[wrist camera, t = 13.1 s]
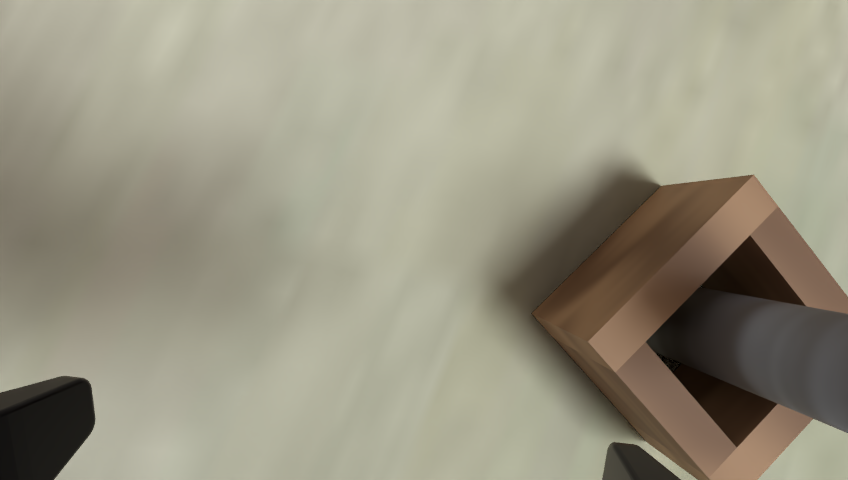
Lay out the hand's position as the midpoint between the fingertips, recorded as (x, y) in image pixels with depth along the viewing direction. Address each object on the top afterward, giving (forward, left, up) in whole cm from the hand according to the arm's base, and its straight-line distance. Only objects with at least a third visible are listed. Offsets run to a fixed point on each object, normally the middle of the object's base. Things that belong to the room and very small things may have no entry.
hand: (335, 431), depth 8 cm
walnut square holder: (+10, -10, -12) cm, 18 cm away
